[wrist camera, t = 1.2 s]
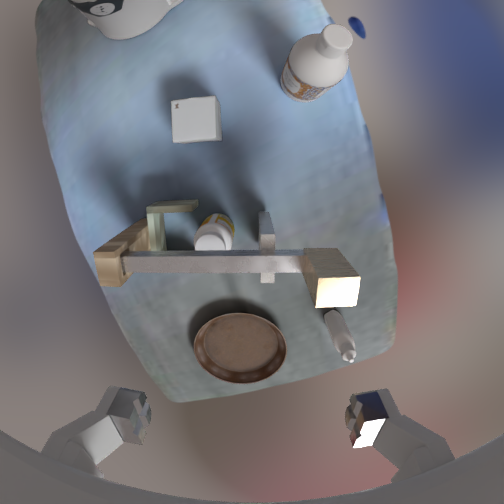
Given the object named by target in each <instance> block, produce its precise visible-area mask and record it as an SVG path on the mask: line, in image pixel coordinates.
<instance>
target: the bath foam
mask: <svg viewBox="0 0 504 504" xmlns="http://www.w3.org/2000/svg"><path fill="white" fill-rule="evenodd" d="M352 42H353V38H352V35H351V33H350V31H349V30H348V29H347V28H345V27H344V26H342V25H338V24H330V25H327V26H326V27H325V28H324V29H323V30H322V32H321V34H311V35H307V36H305V37H303V38H301V39H300V40H298V41H297V42H296V43H295V44H294V46H293V47H292V49H291V51H290V53H289V56H288V58H287V61H286V64H285V66H284V69H283V72H282V75H281V80H280V81H281V87H282V89H283V91H284V92H285V94H286V95H287V96H288V97H290V98H291V99H293V100H295V101H298V102H304V103H306V102H311V101H314V100H316V99H318V98H319V97H320V96H322V95H323V94H324V93H325V92H327V91H328V90H329V89H331V88H332V87H333V86H334V85H336V84H337V83H338V82H340V81H341V80H342V78H343V77H344V75H345V74H346V72H347V69H348V64H349V60H348V55H347V52H346V50H347V49H348V48H349V47H350V46H351V44H352Z"/></svg>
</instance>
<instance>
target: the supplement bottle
mask: <svg viewBox="0 0 504 504" xmlns="http://www.w3.org/2000/svg"><path fill="white" fill-rule="evenodd" d="M233 237H234V225H233V222H232V221H231V219H230V218H228V217H227V216H226V215H223V214H212V215H210V216H208V217H207V218H206V219H205V220H204V221H203V223H202V224H201V226H200V227H199V229H198V230H197V232H196V234H195V236H194V246H195V250H230V249H231V246H232V241H233Z"/></svg>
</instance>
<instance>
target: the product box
mask: <svg viewBox="0 0 504 504" xmlns="http://www.w3.org/2000/svg"><path fill="white" fill-rule="evenodd" d="M171 119H172V138H173V143H183V144H188V143H194V142H206V141H222V128H221V110H220V103H219V101H218V100H217V98H216V96H205V97H194V98H187V99H179V100H172V101H171Z"/></svg>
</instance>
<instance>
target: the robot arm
mask: <svg viewBox="0 0 504 504" xmlns="http://www.w3.org/2000/svg"><path fill="white" fill-rule="evenodd" d="M68 1H69V2H70V3H71V4H72V5H73V6H74V7H76V8H78V10H79V11H80V12H82V13H83V14H84V15H85V16H86V17H87V18H88V23H89V24H90V25H91V26H93V27H97V28H99V29H100V31H101V32H102V33H103V34H104V35H105V36H106V37H108V38H111V39H116V40H122V39H128V38H132V37H135V36H138V35H140V34H142V33H144V32H146V31H147V30H149V29H150V28H152V27H153V26H155V25H156V24H157V23H158V22H159V21H160V20H161V19H162V18H163V17H164V16H165V14H166V13H167V12H168V11H169V10H170V9H172V8H173V7H175V6H176V5H178V4H180V3H181V2H182V1H183V0H68ZM146 399H147V397H146V394H145V392H142V391H136V390H131V389H127V388H122V387H116V386H109V387H108V389H107V390H106V392H105V394H104V396H103V398H102V400H101V401H100V403H99V405H98V407H97V409H96V410H95V411H91V412H89V413H87V414H86V415H84V416H82V417H80V418H78V419H77V420H75V421H73V422H71V423H69V424H67V425H65V426H64V427H62V428H60V429H58V430H56V431H54V432H52V434H51V436H50V438H49V439H48V441H47V442H46V444H45V446H44V448H43V450H42V451H41V453H40V452H38V451H36V450H34V449H32V448H30V447H28V446H27V445H25V444H23V443H21V442H20V441H18V440H16V439H14V438H13V437H11V436H9V435H8V434H6V433H4V432H3V431H1V430H0V504H504V433H503V434H501V435H500V436H498V437H497V438H495V439H493V440H491V441H490V442H488V443H486V444H485V445H483V446H481V447H479V448H477V449H475V450H473V451H471V452H469V453H468V454H465V455H463V456H461V457H459V458H457V459H455V458H454V456H453V454H452V452H451V450H450V448H449V446H448V444H447V442H446V440H445V438H443V437H441V436H440V435H438V434H436V433H434V432H433V431H431V430H429V429H427V428H426V427H424V426H422V425H421V424H419V423H417V422H415V421H414V420H412V419H411V418H409V417H407V416H406V415H401V414H400V412H399V410H398V408H397V406H396V404H395V402H394V400H393V398H392V396H391V394H390V392H389V390H388V389H380V390H375V391H368V392H362V393H355V394H352V396H351V397H350V403H351V404H350V405H349V406H348V407H347V409H346V412H345V422H346V426H347V428H348V429H349V430H351V434H350V440H351V442H352V446H353V448H357V447H363V446H368V445H372V446H373V447H374V448H375V449H376V450H378V451H379V452H380V453H381V454H382V455H383V456H384V457H386V458H387V459H388V460H389V461H390V462H392V463H393V464H394V465H395V466H396V467H397V468H399V471H398V472H397V473H396V474H395V475H394V476H393V478H392V479H391V482H392V483H391V484H387V485H383V486H380V487H376V488H372V489H368V490H364V491H359V492H354V493H350V494H344V495H338V496H333V497H327V498H319V499H310V500H301V501H289V502H269V503H268V502H265V503H245V502H222V501H208V500H200V499H191V498H184V497H177V496H171V495H166V494H161V493H155V492H151V491H146V490H142V489H138V488H134V487H130V486H126V485H122V484H119V483H116V482H112V481H109V480H106V479H103V477H104V475H103V473H102V472H101V470H100V469H99V468H98V467H97V466H96V465H97V464H98V463H99V462H100V461H102V460H103V459H104V458H105V457H107V456H108V455H109V454H110V453H112V452H113V451H114V450H115V449H116V448H118V447H119V446H120V445H121V444H122V443H124V442H129V443H134V444H139V445H143V442H144V439H145V436H146V431H145V429H144V428H146V427H147V426H149V424H150V421H151V408H150V405H149V404H148V403H147V402H146ZM123 441H124V442H123Z"/></svg>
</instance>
